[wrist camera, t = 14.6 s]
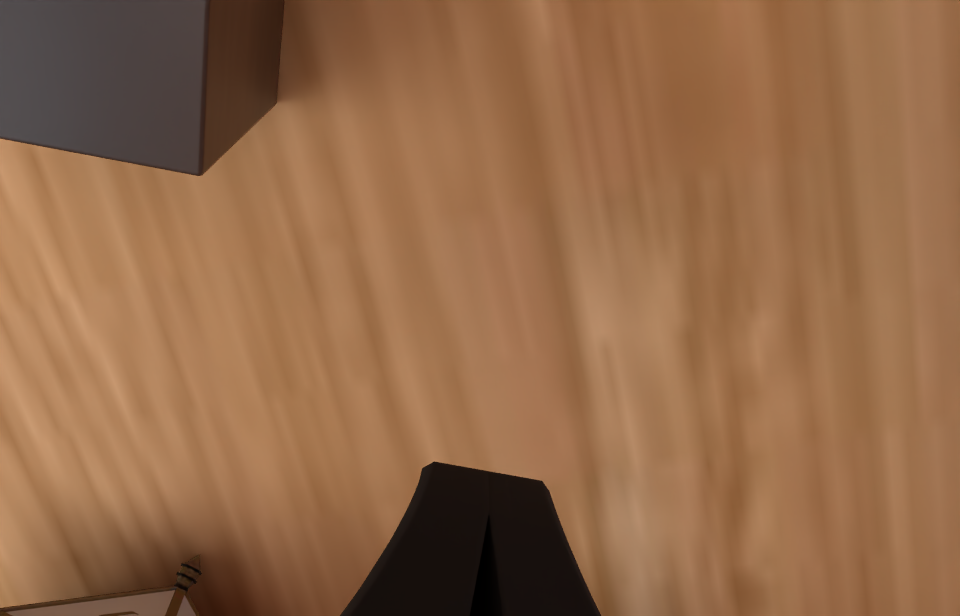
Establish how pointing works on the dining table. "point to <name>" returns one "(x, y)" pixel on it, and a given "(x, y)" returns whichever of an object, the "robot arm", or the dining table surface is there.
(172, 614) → the game die
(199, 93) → the block
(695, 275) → the dining table surface
